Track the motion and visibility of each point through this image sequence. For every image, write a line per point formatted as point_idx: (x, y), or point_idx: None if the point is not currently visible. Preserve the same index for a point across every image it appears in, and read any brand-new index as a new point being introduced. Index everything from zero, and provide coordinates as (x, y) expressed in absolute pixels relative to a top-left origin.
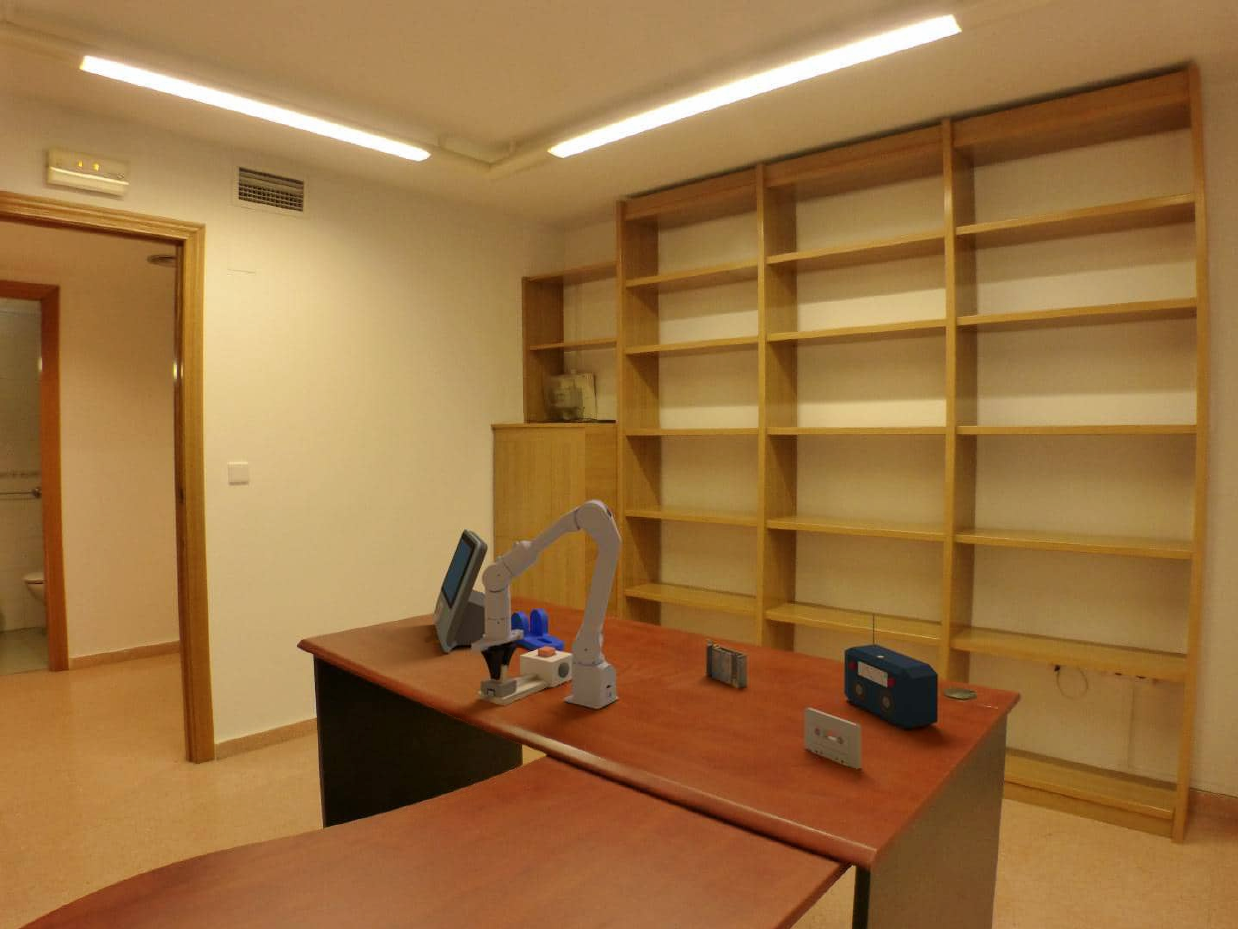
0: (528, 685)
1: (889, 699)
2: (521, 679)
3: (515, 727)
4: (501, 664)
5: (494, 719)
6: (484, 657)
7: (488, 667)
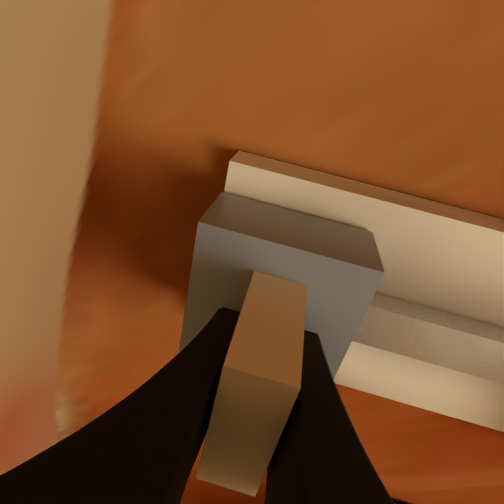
0: (440, 381)
1: None
2: (480, 363)
3: (61, 410)
4: (263, 457)
5: (69, 336)
6: (63, 448)
7: (172, 363)
